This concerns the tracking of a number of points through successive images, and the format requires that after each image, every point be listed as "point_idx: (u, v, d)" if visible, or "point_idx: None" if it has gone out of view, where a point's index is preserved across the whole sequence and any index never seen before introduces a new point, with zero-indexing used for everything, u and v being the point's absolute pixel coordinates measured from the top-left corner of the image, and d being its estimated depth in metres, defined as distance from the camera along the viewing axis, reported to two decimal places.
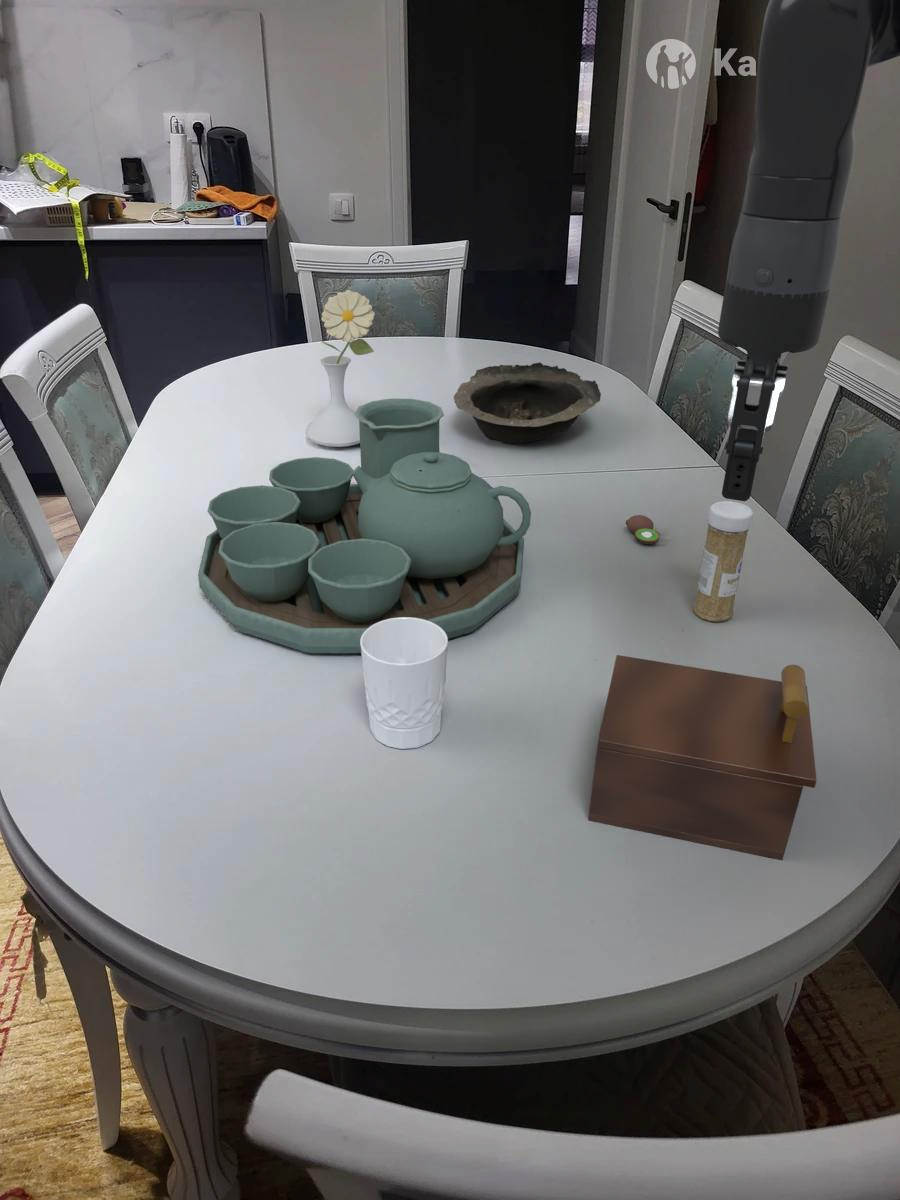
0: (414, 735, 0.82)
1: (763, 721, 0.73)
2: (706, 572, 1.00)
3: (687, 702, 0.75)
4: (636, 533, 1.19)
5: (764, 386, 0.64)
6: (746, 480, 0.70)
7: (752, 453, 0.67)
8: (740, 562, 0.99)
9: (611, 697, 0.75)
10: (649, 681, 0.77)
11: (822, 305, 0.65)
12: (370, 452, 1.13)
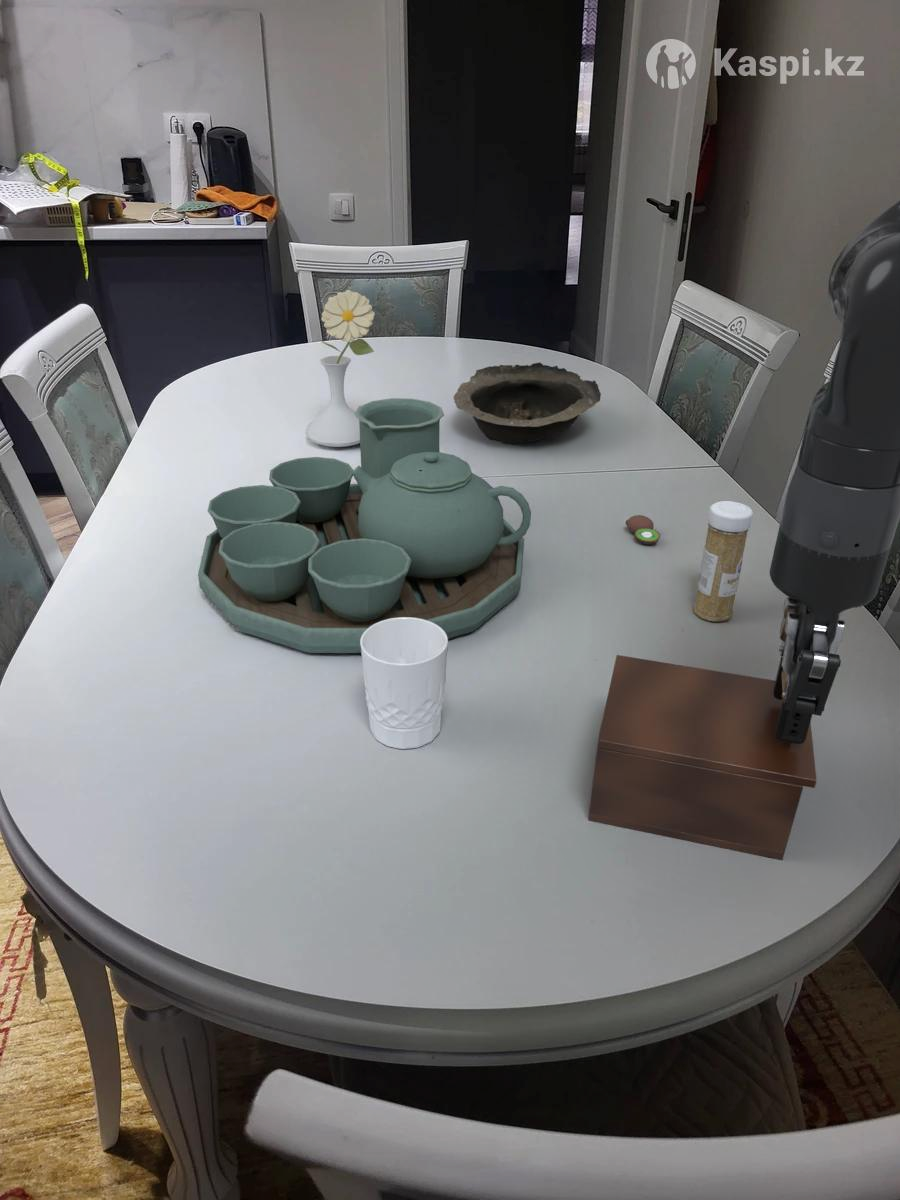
0: (414, 735, 0.82)
1: (763, 721, 0.73)
2: (706, 572, 1.00)
3: (687, 702, 0.75)
4: (636, 533, 1.19)
5: (829, 666, 0.61)
6: (803, 728, 0.67)
7: (814, 712, 0.65)
8: (740, 562, 0.99)
9: (611, 697, 0.75)
10: (649, 681, 0.77)
11: (886, 560, 0.62)
12: (370, 452, 1.13)
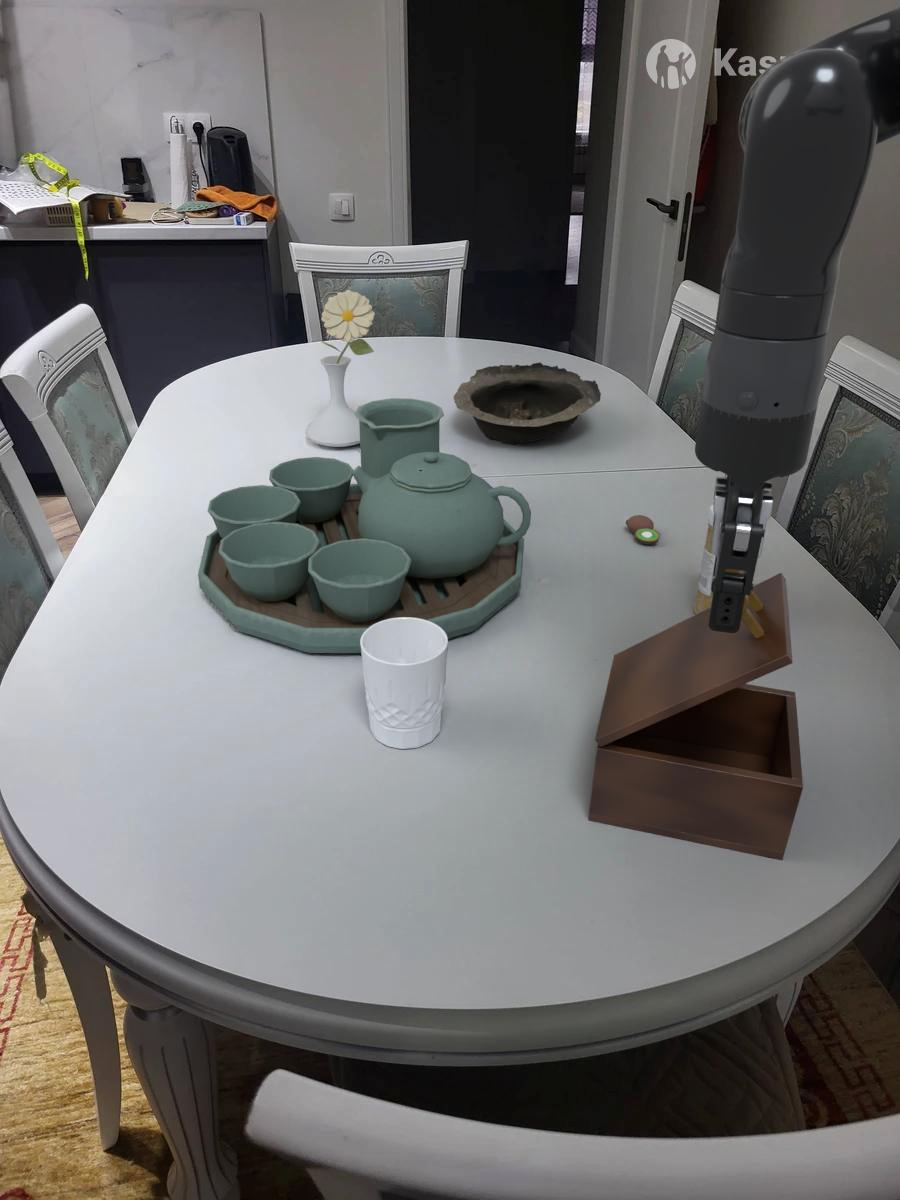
0: (414, 735, 0.82)
1: (739, 631, 0.69)
2: (706, 572, 1.00)
3: (672, 658, 0.73)
4: (636, 533, 1.19)
5: (752, 535, 0.58)
6: (735, 614, 0.64)
7: (742, 591, 0.61)
8: None
9: (607, 695, 0.75)
10: (640, 659, 0.77)
11: (811, 425, 0.59)
12: (370, 452, 1.13)
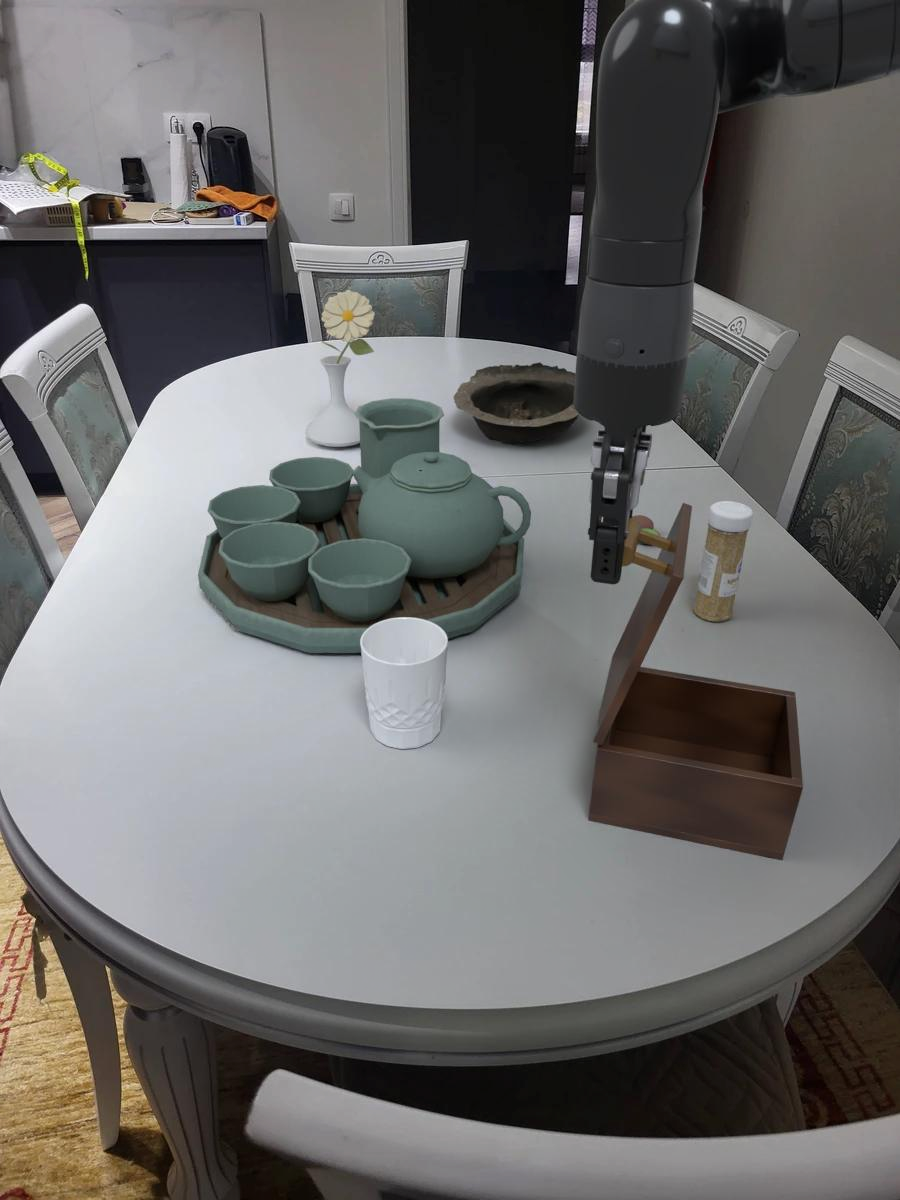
0: (414, 735, 0.82)
1: (659, 576, 0.69)
2: (706, 572, 1.00)
3: (631, 631, 0.73)
4: None
5: (619, 482, 0.59)
6: (614, 564, 0.65)
7: (616, 539, 0.62)
8: (740, 562, 0.99)
9: (603, 695, 0.75)
10: (620, 648, 0.76)
11: (680, 374, 0.60)
12: (370, 452, 1.13)
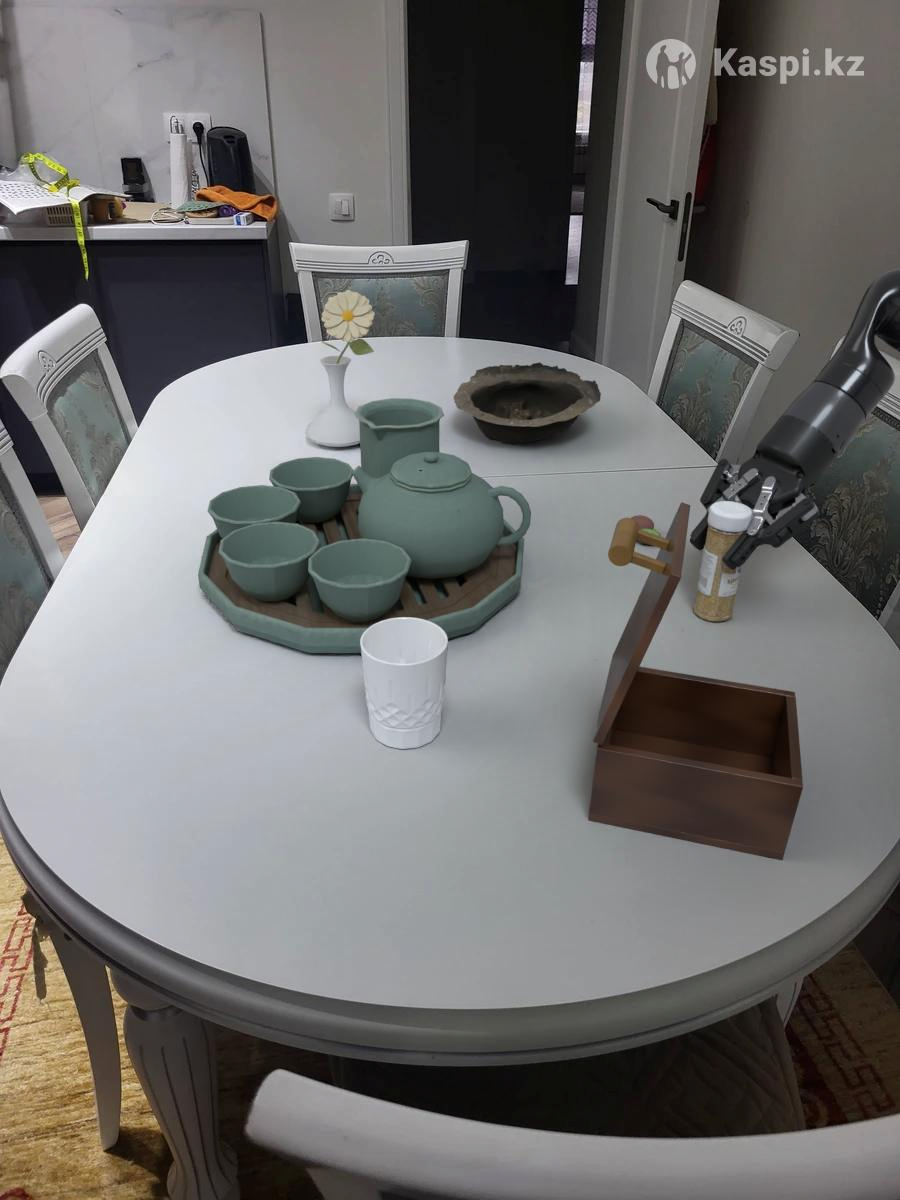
0: (414, 735, 0.82)
1: (657, 575, 0.69)
2: (706, 571, 1.00)
3: (631, 631, 0.73)
4: None
5: None
6: None
7: None
8: None
9: (603, 695, 0.75)
10: (620, 648, 0.77)
11: (781, 422, 0.97)
12: (370, 452, 1.13)
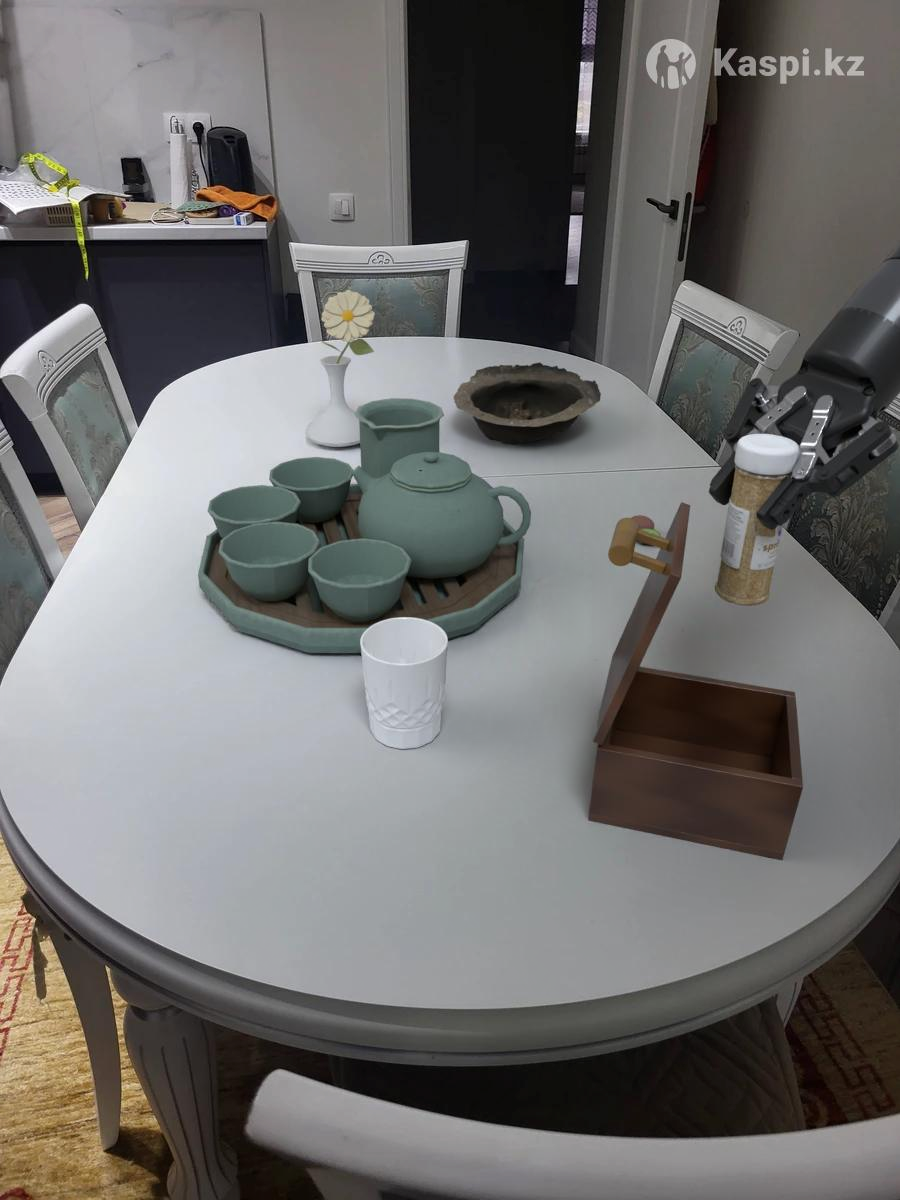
0: (414, 735, 0.82)
1: (657, 575, 0.69)
2: (732, 535, 0.71)
3: (631, 631, 0.73)
4: None
5: None
6: (719, 470, 0.72)
7: None
8: None
9: (603, 695, 0.75)
10: (620, 648, 0.77)
11: (839, 318, 0.68)
12: (370, 452, 1.13)
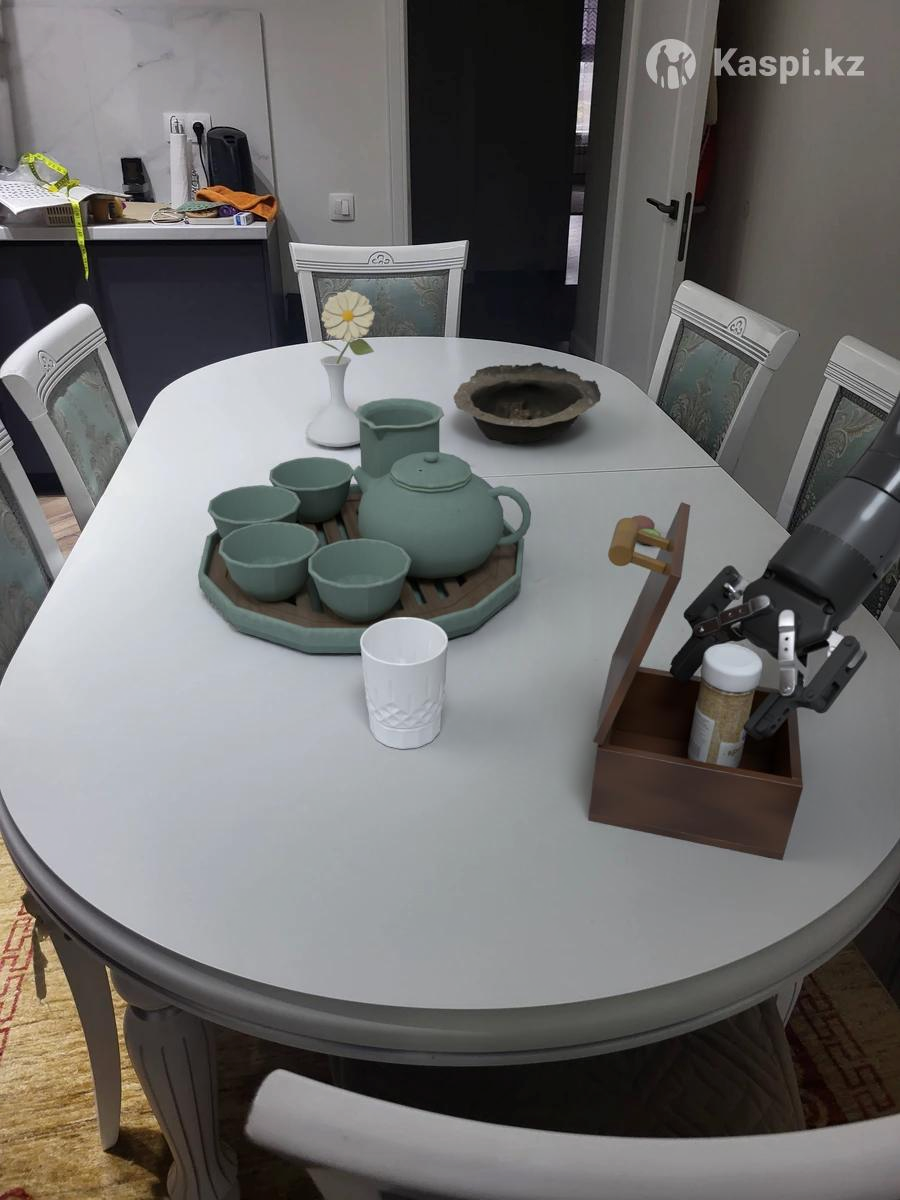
0: (414, 735, 0.82)
1: (657, 575, 0.69)
2: (699, 738, 0.73)
3: (631, 631, 0.73)
4: None
5: None
6: (680, 650, 0.76)
7: None
8: None
9: (603, 695, 0.75)
10: (620, 648, 0.77)
11: (801, 533, 0.70)
12: (370, 452, 1.13)
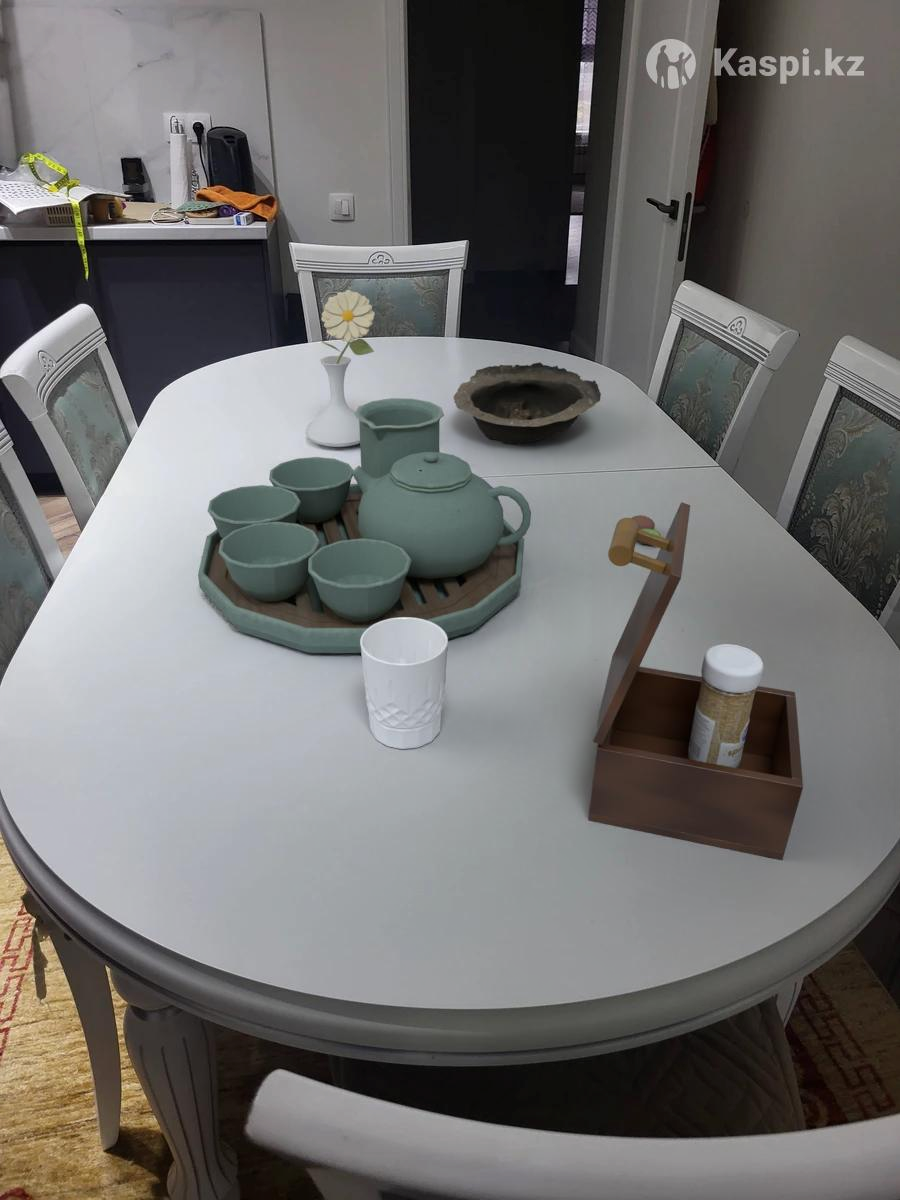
0: (414, 735, 0.82)
1: (657, 575, 0.69)
2: (699, 738, 0.73)
3: (631, 631, 0.73)
4: None
5: None
6: None
7: None
8: (745, 728, 0.72)
9: (603, 695, 0.75)
10: (620, 648, 0.77)
11: None
12: (370, 452, 1.13)
